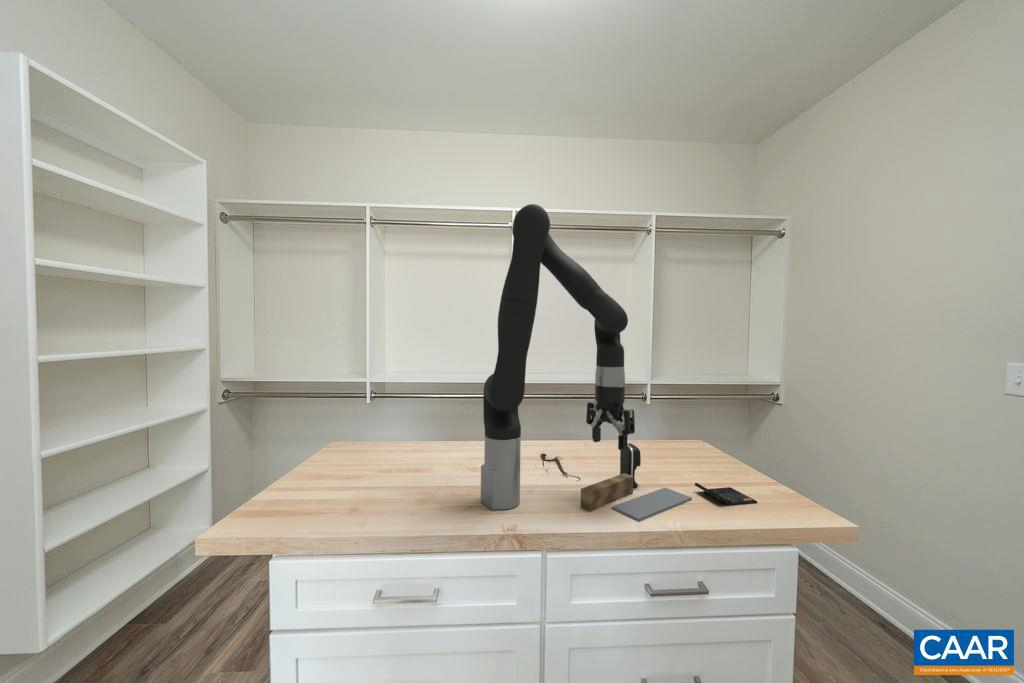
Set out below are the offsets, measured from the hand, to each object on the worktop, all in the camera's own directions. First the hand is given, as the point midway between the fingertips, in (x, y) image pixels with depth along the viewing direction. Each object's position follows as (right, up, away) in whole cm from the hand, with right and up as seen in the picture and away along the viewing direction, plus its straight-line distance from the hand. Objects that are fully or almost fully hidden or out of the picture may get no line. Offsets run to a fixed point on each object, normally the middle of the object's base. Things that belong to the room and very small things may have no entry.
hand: (609, 445), depth 103 cm
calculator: (+32, -15, +3) cm, 35 cm away
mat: (+11, -15, -2) cm, 18 cm away
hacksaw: (-10, -14, +25) cm, 31 cm away
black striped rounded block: (+9, -15, +12) cm, 21 cm away
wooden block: (0, -15, 0) cm, 15 cm away
